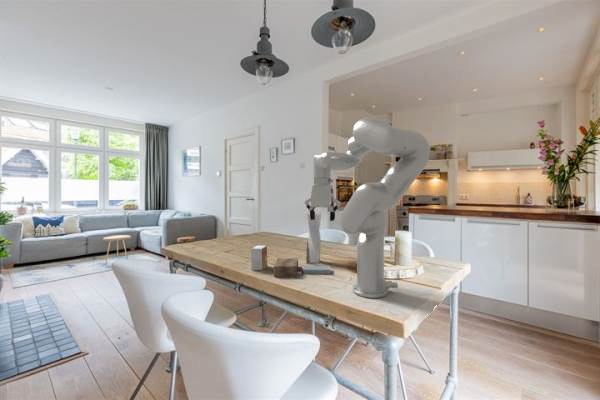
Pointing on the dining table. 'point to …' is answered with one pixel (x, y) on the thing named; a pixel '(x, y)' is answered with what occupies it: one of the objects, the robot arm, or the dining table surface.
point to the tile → (316, 269)
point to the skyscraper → (314, 240)
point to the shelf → (287, 268)
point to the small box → (258, 257)
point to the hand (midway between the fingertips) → (322, 220)
